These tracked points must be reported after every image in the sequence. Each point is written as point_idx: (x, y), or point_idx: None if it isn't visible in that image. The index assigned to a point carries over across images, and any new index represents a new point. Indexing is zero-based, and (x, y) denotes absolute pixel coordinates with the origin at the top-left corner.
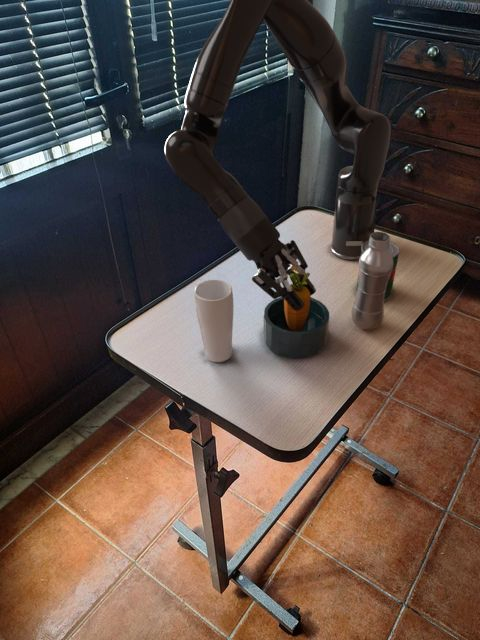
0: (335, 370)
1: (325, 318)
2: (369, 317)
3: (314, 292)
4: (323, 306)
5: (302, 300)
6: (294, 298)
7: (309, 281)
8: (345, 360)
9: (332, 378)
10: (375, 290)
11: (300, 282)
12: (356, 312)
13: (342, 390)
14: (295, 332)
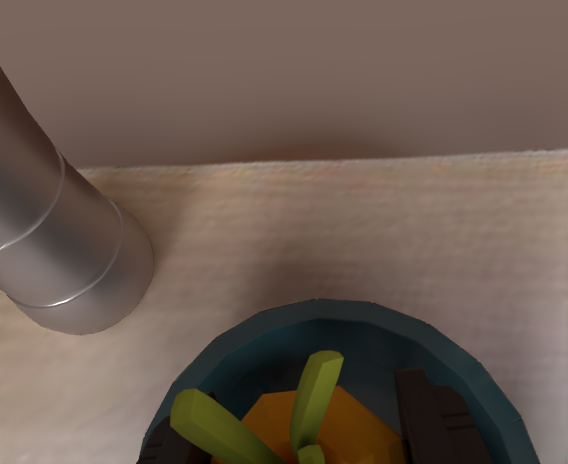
0: (416, 245)
1: (277, 323)
2: (130, 220)
3: (212, 392)
4: (183, 388)
5: (364, 406)
6: (449, 434)
7: (163, 448)
8: (344, 244)
9: (461, 233)
10: (46, 135)
11: (302, 450)
12: (118, 276)
13: (488, 181)
14: (491, 396)
